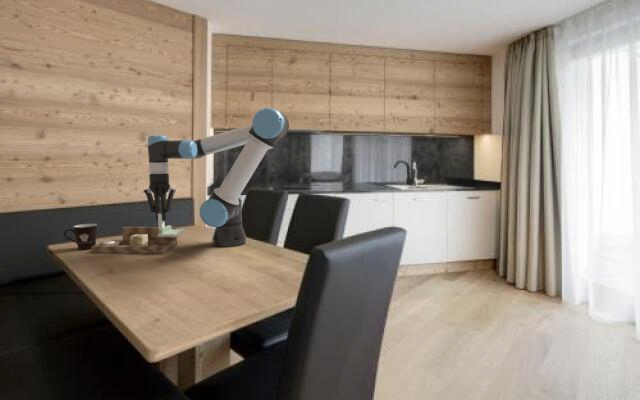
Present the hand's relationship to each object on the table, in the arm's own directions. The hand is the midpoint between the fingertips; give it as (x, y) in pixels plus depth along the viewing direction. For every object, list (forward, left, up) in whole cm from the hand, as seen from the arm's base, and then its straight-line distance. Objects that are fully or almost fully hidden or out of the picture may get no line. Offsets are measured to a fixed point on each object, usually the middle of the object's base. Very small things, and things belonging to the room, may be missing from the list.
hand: (161, 228), depth 165 cm
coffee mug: (+35, -1, -9) cm, 36 cm away
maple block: (+10, 0, -9) cm, 13 cm away
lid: (-4, 0, -2) cm, 5 cm away
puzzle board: (+11, 0, -9) cm, 15 cm away
